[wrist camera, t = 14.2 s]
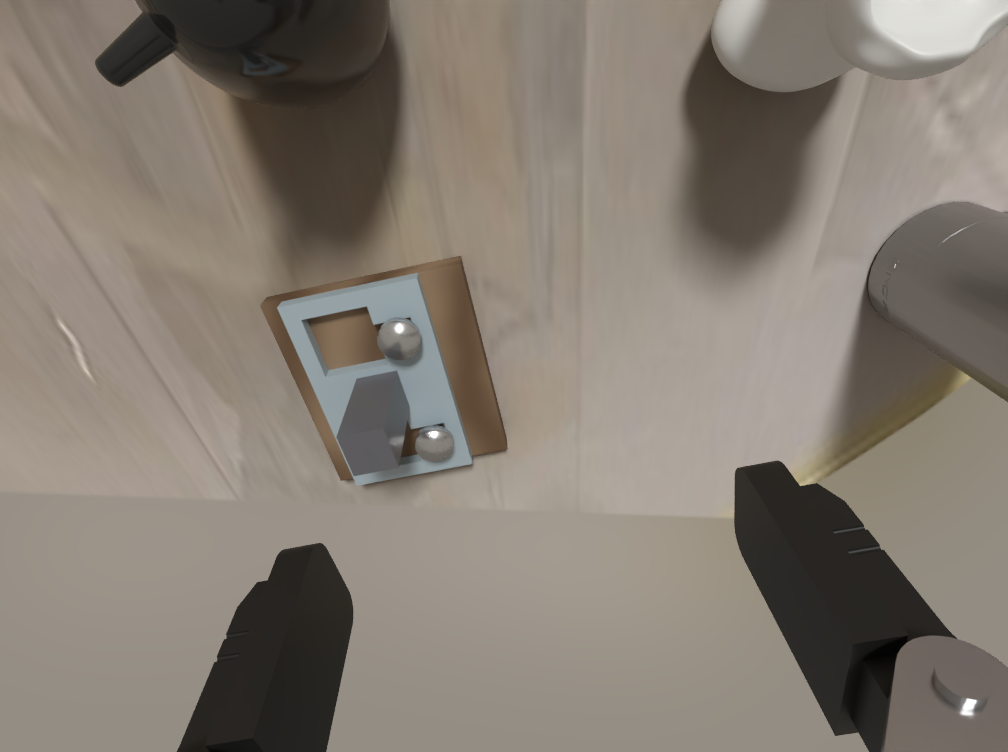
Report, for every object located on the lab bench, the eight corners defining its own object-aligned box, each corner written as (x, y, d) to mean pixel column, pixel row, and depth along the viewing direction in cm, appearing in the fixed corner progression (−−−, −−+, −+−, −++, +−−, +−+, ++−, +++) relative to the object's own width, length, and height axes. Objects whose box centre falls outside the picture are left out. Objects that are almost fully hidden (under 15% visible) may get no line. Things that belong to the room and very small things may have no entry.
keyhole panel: (418, 272, 38) (405, 324, 31) (472, 456, 46) (472, 528, 39) (281, 301, 39) (239, 358, 32) (358, 477, 47) (338, 553, 40)
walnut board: (460, 255, 39) (459, 277, 36) (506, 437, 47) (509, 470, 44) (267, 297, 40) (247, 322, 37) (344, 468, 48) (334, 502, 45)
